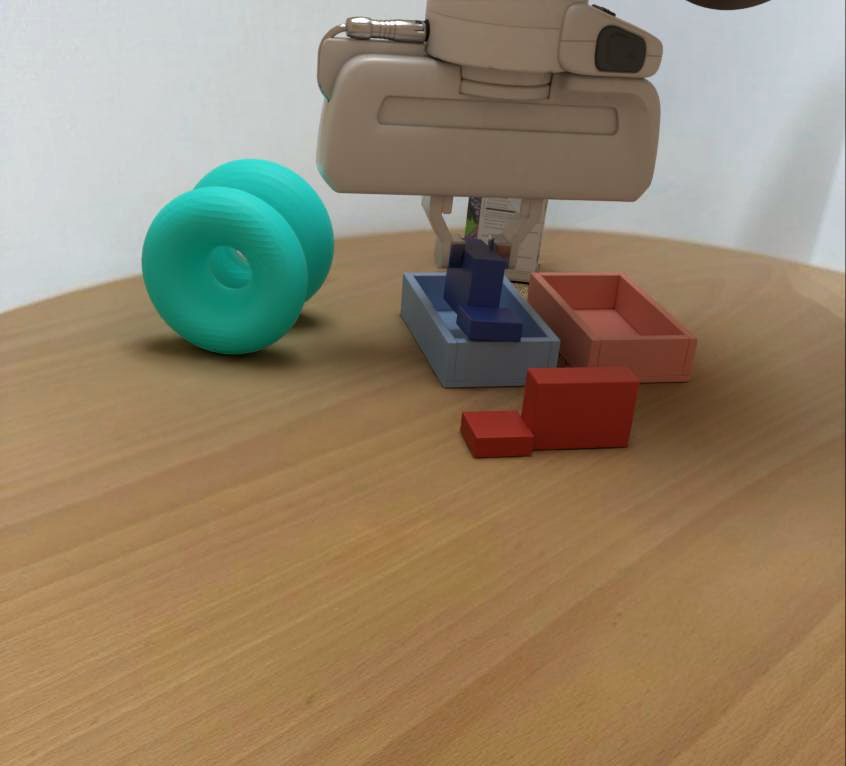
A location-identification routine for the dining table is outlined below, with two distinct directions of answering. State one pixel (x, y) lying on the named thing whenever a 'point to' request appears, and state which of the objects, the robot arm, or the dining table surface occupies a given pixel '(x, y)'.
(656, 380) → the red bin
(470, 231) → the syrup box
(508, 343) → the blue bin
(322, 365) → the dining table surface
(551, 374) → the two-tier red step
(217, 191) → the turquoise yo-yo
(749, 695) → the dining table surface
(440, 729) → the dining table surface
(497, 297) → the dark blue l-shaped piece
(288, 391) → the dining table surface
